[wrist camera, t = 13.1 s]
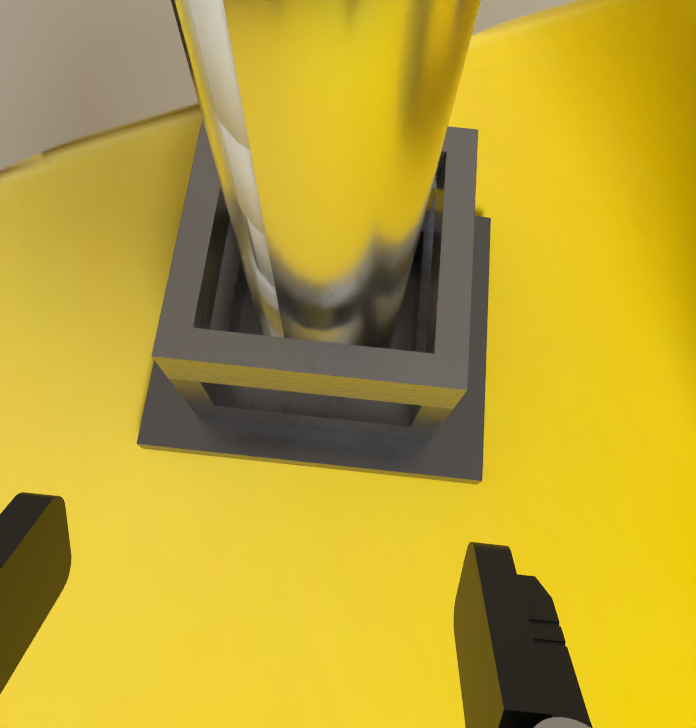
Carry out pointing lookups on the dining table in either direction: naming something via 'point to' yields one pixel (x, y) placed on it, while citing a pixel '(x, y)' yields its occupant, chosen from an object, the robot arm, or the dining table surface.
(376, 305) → the silver long cylinder
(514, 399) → the dining table surface
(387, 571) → the dining table surface
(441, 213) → the grey square holder
